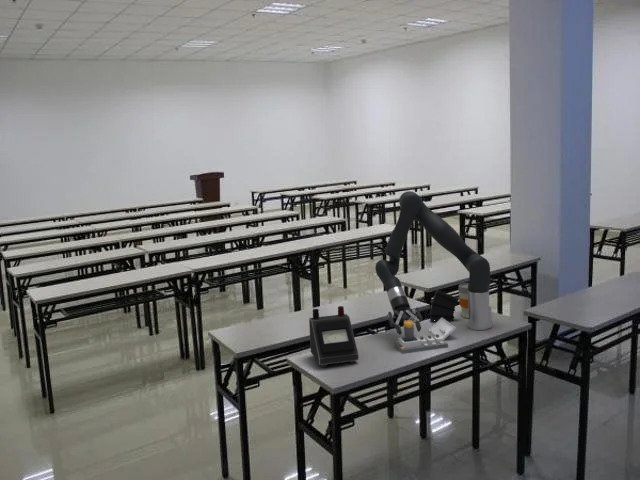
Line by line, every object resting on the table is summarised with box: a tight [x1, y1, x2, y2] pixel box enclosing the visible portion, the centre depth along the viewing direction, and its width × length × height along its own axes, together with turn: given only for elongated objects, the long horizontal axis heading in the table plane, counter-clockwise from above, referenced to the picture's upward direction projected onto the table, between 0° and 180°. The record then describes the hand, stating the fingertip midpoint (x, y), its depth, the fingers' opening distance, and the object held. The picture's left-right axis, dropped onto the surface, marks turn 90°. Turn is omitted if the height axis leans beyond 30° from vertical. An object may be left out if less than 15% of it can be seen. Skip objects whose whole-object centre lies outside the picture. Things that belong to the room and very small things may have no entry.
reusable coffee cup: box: [457, 282, 469, 319], centre depth 284 cm, size 13×13×15 cm
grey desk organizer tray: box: [394, 334, 449, 354], centre depth 249 cm, size 20×10×4 cm, turn 100°
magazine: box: [428, 289, 459, 323], centre depth 280 cm, size 4×13×15 cm, turn 88°
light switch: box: [428, 318, 457, 341], centre depth 261 cm, size 8×5×14 cm
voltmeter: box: [308, 305, 360, 368], centre depth 239 cm, size 16×16×20 cm
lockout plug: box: [403, 320, 415, 342], centre depth 247 cm, size 4×4×10 cm
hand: (410, 332), depth 246 cm, fingers open, 8 cm apart
